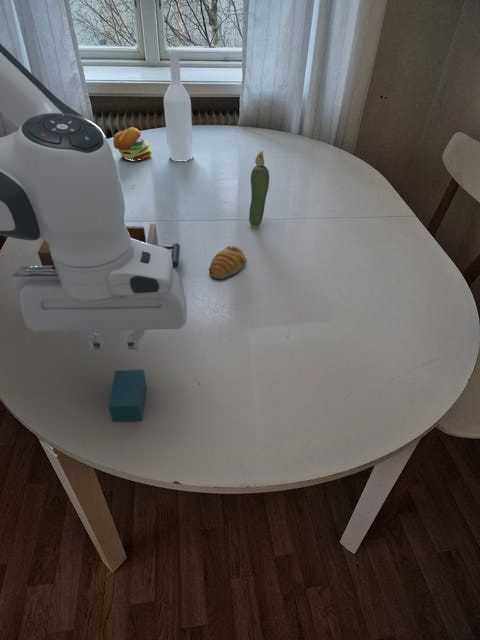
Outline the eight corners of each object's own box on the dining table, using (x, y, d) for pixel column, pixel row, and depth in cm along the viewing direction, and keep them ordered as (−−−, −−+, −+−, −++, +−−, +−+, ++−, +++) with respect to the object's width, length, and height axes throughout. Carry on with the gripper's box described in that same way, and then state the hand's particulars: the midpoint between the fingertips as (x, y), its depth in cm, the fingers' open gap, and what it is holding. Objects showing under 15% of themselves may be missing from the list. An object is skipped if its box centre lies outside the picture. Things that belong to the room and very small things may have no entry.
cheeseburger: (154, 161, 136) (143, 130, 129) (122, 171, 136) (109, 141, 129) (152, 148, 143) (141, 118, 136) (121, 158, 143) (109, 128, 136)
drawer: (181, 253, 98) (179, 223, 93) (179, 284, 90) (176, 253, 85) (103, 254, 97) (96, 223, 92) (94, 285, 89) (86, 254, 84)
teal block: (142, 421, 66) (138, 405, 64) (112, 422, 66) (107, 406, 63) (146, 385, 72) (143, 369, 69) (119, 385, 71) (115, 370, 69)
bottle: (172, 163, 136) (162, 54, 115) (165, 153, 141) (156, 48, 121) (196, 160, 138) (191, 52, 118) (189, 151, 144) (183, 46, 123)
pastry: (227, 285, 92) (227, 271, 89) (200, 275, 94) (200, 261, 91) (248, 263, 98) (249, 249, 95) (223, 254, 100) (223, 240, 97)
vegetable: (250, 222, 111) (254, 144, 97) (266, 224, 110) (272, 146, 97) (246, 231, 108) (250, 151, 94) (263, 233, 107) (269, 153, 93)
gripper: (-5, 283, 48) (33, 365, 57) (181, 281, 49) (188, 361, 58) (14, 251, 52) (46, 332, 62) (183, 249, 53) (189, 329, 63)
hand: (116, 346), depth 60 cm, fingers open, 4 cm apart
